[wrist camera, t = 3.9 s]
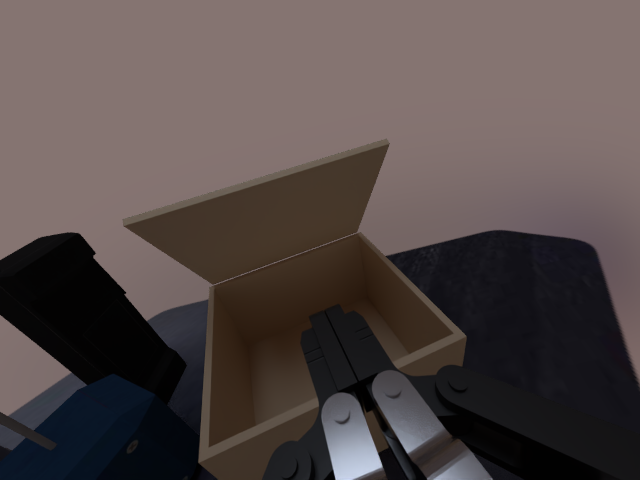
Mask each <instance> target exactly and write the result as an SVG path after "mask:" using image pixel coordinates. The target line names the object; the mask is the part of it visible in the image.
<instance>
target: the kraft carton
mask: <svg viewBox="0 0 640 480" xmlns="http://www.w3.org/2000/svg"><path fill="white" fill-rule="evenodd" d="M337 304H339V305H340V306H341V308H342V309H343V311H344V313H345V314H346V313H348V312H351V311H353V310H354V311H356V312H357V313H358V314H360V315H361V316H363V317H364V319H365V320H366V322H367V324H368V325H369V327H370V328H371V330H372V331H373V333H374V335H375V336H376V338H377V339H378V341H379V342H380V344H381V346H382V347H383V349H384V350H385V352H386V353H387V355H388V356H389V358H390V360H391V361H392V363H393V364H394V365H395V367H396V368H397V369H399V370H400V371H401V372H403V373H405V374H407V375H411V376H426V375H436V374H437V372H438V370H439V369H440V368H442V367H443V366H446V365H458V366H461V367H462V365H463V358H464V351H465V344H466V338H467V336H466V335H465V334H464V333H463V332H462V331H461V330H460V329H459V328H458V327H457V326H456V325H455V324H454V323H453V322H452V321H451V320H450V319H449V318H448V317H446V316H445V315H444V314H443V313H442V312H441V311H440V310H439V309H438V308H437V307H436V306H435V305H434V304H433V303H432V302H431V301H430V300H429V299H428V298H427V297H426V296H425V295H424V294H423V293H422V292H421V291H420V290H419V289H418V288H417V287H416V286H415V285H414V284H413V283H412V282H411V281H410V280H409V279H408V278H407V277H406V276H405V275H404V274H403V273H402V272H401V271H400V270H399V269H398V268H397V267H396V266H395V265H394V264H393V263H392V262H390V261H389V260H388V259H387V258H386V257H385V256H384V255H383V254H382V253H381V252H380V251H379V250H378V249H377V248H376V247H375V246H374V245H373V244H372V243H371V242H370V241H369V240H368V239H367V238H366V237H365V236H364V235H363V234H362V233H361V232H360V233H357V234H354V235H352V236H349V237H346V238H343V239H341V240H338V241H335V242H333V243H330V244H327V245H324V246H321V247H319V248H316V249H313V250H310V251H308V252H305V253H302V254H300V255H297V256H294V257H291V258H289V259H286V260H283V261H280V262H278V263H275V264H272V265H269V266H267V267H264V268H261V269H258V270H256V271H253V272H250V273H247V274H245V275H242V276H239V277H236V278H234V279H231V280H228V281H226V282H223V283H220V284H217V285H214V286H212V287H210V288H209V303H208V319H207V335H206V351H205V367H204V383H203V399H202V415H201V431H200V447H199V464H200V465H201V466H203V467H204V468H205V469H206V470H208V471H209V472H210V473H211V474H212V475H214V476H215V477H216V478H217V479H218V480H262V478H263V475H264V473H265V470H266V468H267V465H268V462H269V460H270V458H271V456H272V454H273V452H274V451H275V450H276V449H277V447H279V446H280V445H281V444H283V443H284V442H287V441H298V440H299V439H300V438H301V437H302V436H303V435H304V434H305V433H306V432H307V431H308V430H309V429H310V428H311V427H312V426H313V424H314V423H315V421H316V418H317V415H318V411H319V402H318V398H317V395H316V391H315V388H314V385H313V382H312V379H311V376H310V372H309V369H308V366H307V363H306V360H305V357H304V354H303V350H302V347H301V344H300V341H301V334H302V332H303V331H305V330H308V329H310V328H312V325H311V322H310V319H309V316H310V315H312V314H315V313H317V312H320V311H322V310H323V311H324V309H327V308H329V307H332V306H334V305H337ZM364 412H365V418H366V422H367V426H368V428H369V431H370V434H371V436H372V439H373V442H374V445H375V447H376V450H377V453H379V452H381V451H383V450H385V449H387V448H389V447H388V445H387V443H386V441H385V439H384V438H383V436H382V434H381V432H380V429H379V425H378V422H377V420H376V418H375V416H374V413H373V411H370V412H368V413H366V411H365V409H364Z"/></svg>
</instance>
